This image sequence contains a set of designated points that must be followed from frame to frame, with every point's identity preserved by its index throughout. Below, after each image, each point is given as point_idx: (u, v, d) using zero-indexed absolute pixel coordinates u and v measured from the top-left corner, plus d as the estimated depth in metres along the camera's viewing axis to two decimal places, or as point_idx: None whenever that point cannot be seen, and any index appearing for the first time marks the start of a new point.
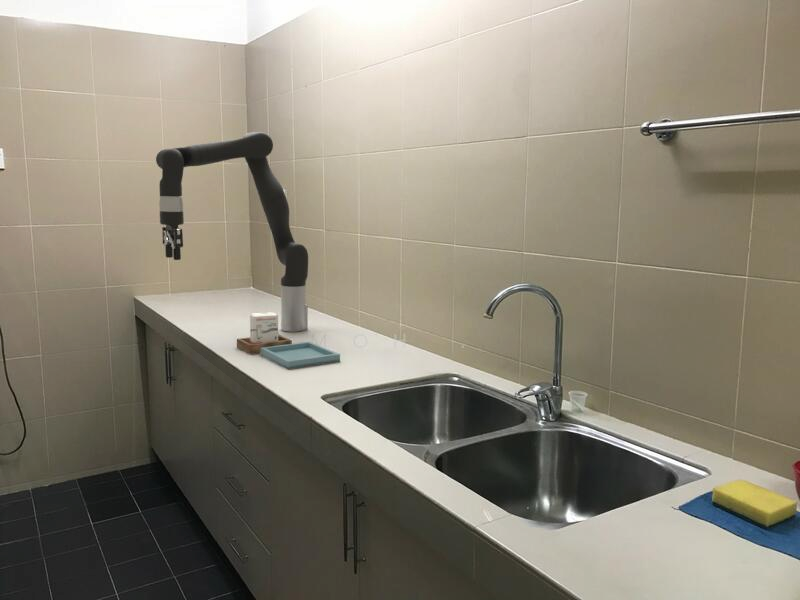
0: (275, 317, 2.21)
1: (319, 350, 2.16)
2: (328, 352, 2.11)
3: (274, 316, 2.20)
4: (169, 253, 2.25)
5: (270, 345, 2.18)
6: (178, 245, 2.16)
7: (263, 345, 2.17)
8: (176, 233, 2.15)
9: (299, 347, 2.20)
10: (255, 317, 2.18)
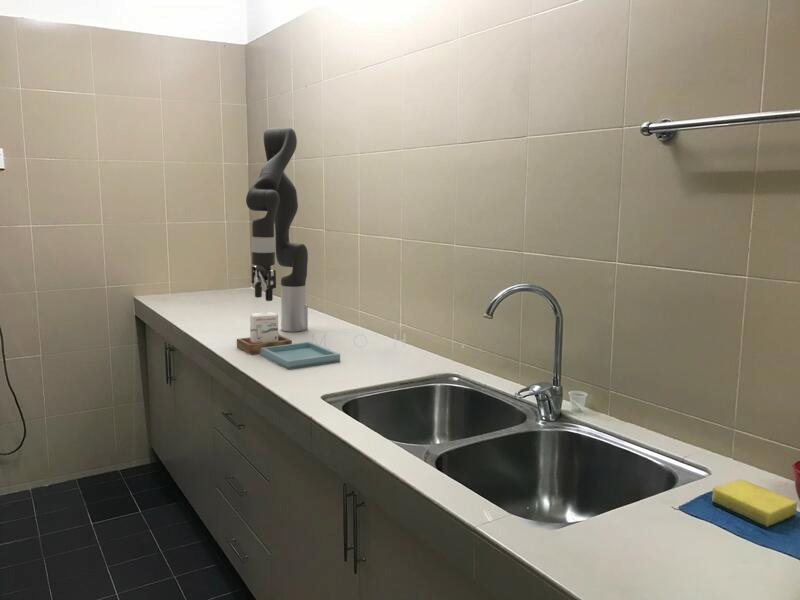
0: (275, 317, 2.21)
1: (319, 350, 2.16)
2: (328, 352, 2.11)
3: (274, 316, 2.20)
4: (258, 293, 2.23)
5: (270, 345, 2.18)
6: (271, 286, 2.14)
7: (263, 345, 2.17)
8: (270, 274, 2.13)
9: (299, 347, 2.20)
10: (255, 317, 2.18)
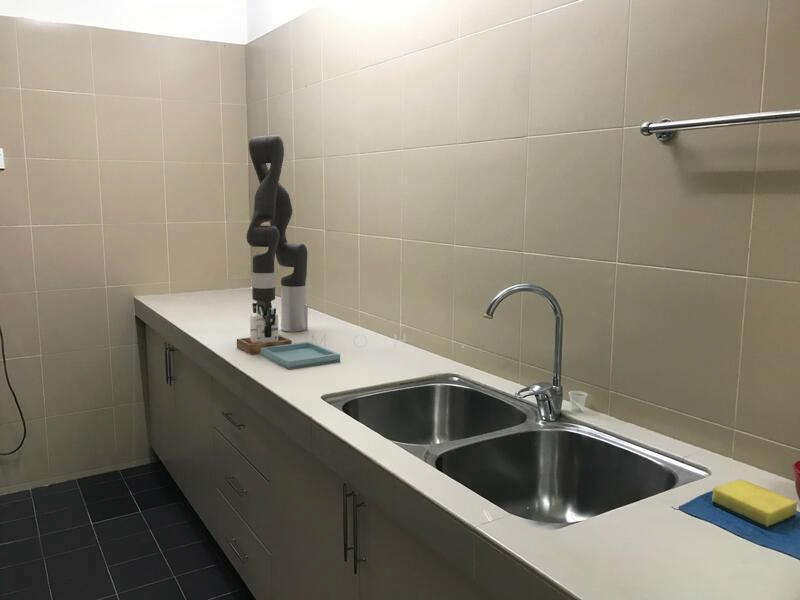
0: (275, 317, 2.21)
1: (319, 350, 2.16)
2: (328, 352, 2.11)
3: None
4: None
5: (270, 345, 2.18)
6: (270, 323, 2.17)
7: (263, 345, 2.17)
8: (270, 313, 2.15)
9: (299, 347, 2.20)
10: (255, 317, 2.18)
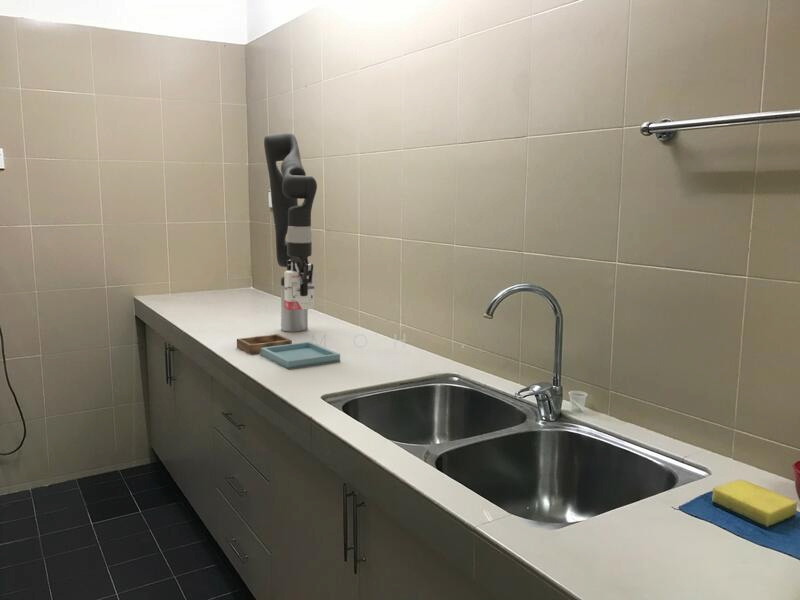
0: None
1: (319, 350, 2.16)
2: (328, 352, 2.11)
3: None
4: None
5: (270, 345, 2.18)
6: (307, 281, 2.02)
7: (263, 345, 2.17)
8: (307, 269, 2.01)
9: (299, 347, 2.20)
10: (290, 274, 2.03)
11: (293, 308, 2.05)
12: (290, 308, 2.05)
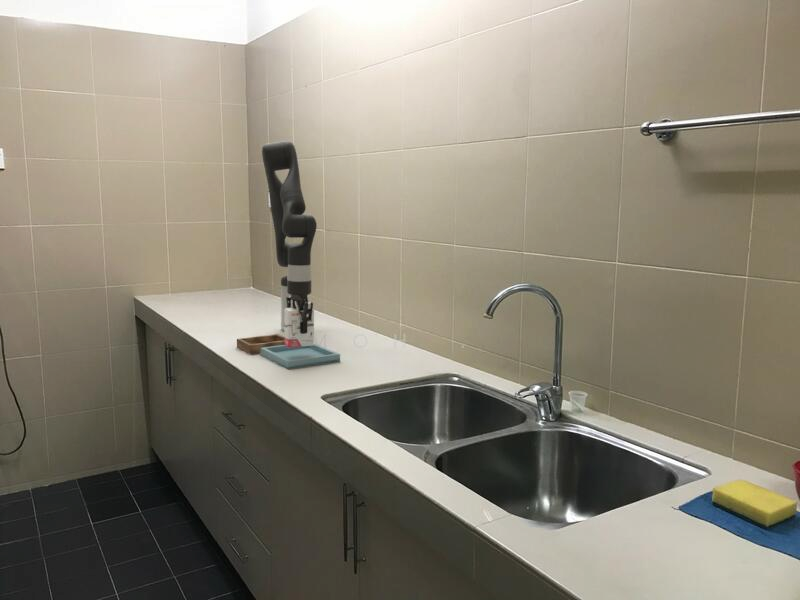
0: None
1: (319, 350, 2.16)
2: (328, 352, 2.11)
3: None
4: None
5: (270, 345, 2.18)
6: (307, 319, 2.04)
7: (263, 345, 2.17)
8: (307, 308, 2.02)
9: (299, 347, 2.20)
10: (290, 312, 2.05)
11: (293, 345, 2.07)
12: (290, 345, 2.06)
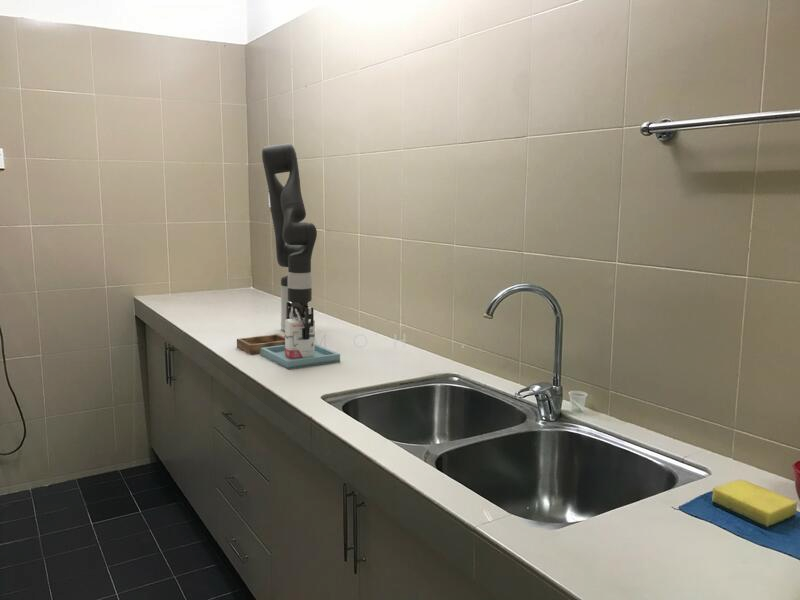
0: None
1: (319, 350, 2.16)
2: (328, 352, 2.11)
3: None
4: None
5: (270, 345, 2.18)
6: (309, 325, 2.03)
7: (263, 345, 2.17)
8: (307, 313, 2.02)
9: None
10: (291, 323, 2.05)
11: (294, 356, 2.07)
12: (291, 357, 2.07)
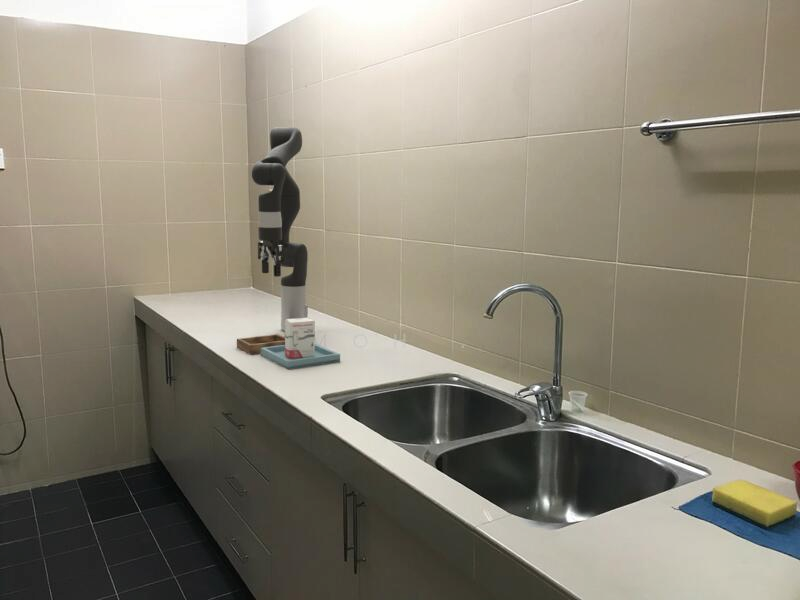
0: (312, 323, 2.08)
1: (319, 350, 2.16)
2: (328, 352, 2.11)
3: (311, 322, 2.08)
4: (265, 269, 2.21)
5: (270, 345, 2.18)
6: (280, 262, 2.11)
7: (263, 345, 2.17)
8: (278, 250, 2.11)
9: None
10: (291, 323, 2.05)
11: (294, 356, 2.07)
12: (291, 357, 2.07)
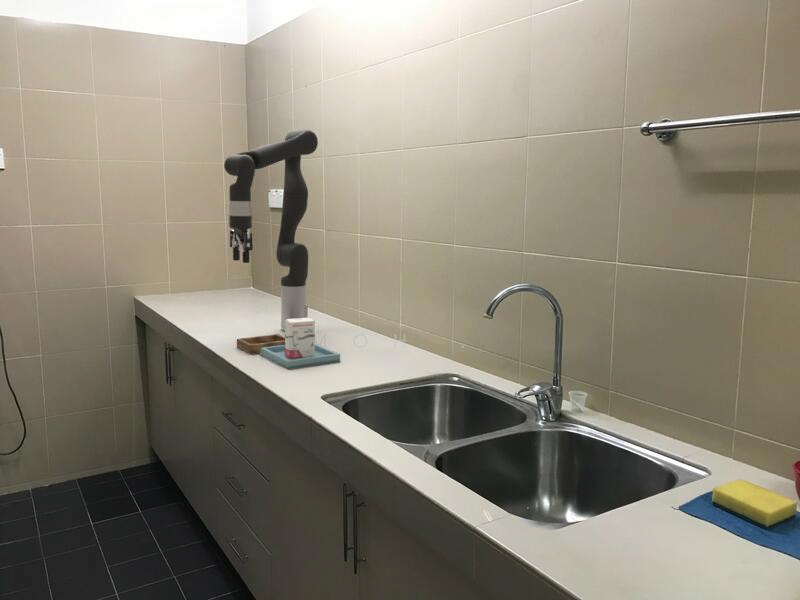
0: (312, 323, 2.08)
1: (319, 350, 2.16)
2: (328, 352, 2.11)
3: (311, 322, 2.08)
4: (236, 256, 2.31)
5: (270, 345, 2.18)
6: (248, 248, 2.22)
7: (263, 345, 2.17)
8: (246, 237, 2.21)
9: None
10: (291, 323, 2.05)
11: (294, 356, 2.07)
12: (291, 357, 2.07)
